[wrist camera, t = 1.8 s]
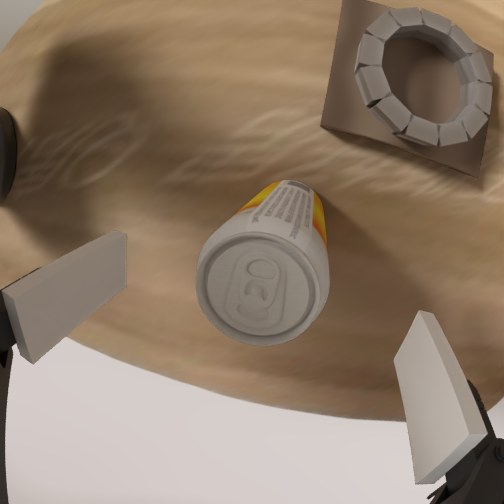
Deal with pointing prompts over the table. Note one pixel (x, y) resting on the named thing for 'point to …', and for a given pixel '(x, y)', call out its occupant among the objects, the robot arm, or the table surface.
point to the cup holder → (410, 84)
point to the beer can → (267, 267)
